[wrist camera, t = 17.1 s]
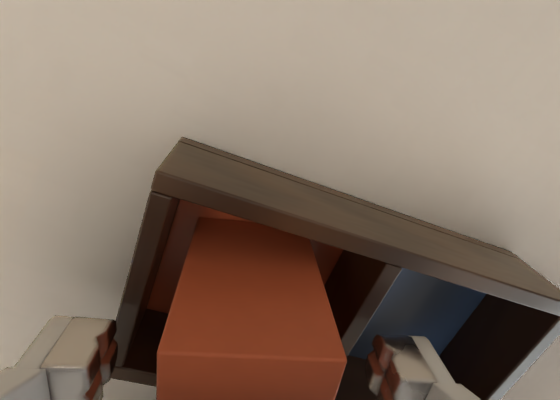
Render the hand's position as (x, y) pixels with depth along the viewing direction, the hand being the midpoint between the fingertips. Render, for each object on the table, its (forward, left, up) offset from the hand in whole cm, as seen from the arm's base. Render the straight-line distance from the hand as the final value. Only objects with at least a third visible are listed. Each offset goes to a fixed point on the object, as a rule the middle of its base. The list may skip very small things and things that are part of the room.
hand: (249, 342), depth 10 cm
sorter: (+3, 0, -5) cm, 6 cm away
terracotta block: (0, 0, -4) cm, 4 cm away
